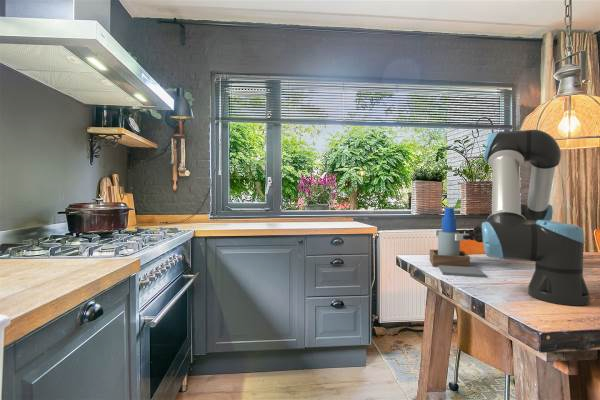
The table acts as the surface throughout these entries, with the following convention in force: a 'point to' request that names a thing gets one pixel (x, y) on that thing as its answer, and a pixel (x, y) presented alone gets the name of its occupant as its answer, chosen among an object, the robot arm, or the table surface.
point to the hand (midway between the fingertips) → (445, 235)
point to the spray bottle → (448, 235)
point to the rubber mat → (461, 271)
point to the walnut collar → (449, 259)
